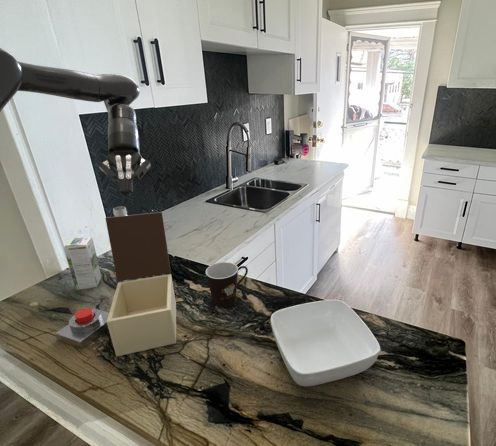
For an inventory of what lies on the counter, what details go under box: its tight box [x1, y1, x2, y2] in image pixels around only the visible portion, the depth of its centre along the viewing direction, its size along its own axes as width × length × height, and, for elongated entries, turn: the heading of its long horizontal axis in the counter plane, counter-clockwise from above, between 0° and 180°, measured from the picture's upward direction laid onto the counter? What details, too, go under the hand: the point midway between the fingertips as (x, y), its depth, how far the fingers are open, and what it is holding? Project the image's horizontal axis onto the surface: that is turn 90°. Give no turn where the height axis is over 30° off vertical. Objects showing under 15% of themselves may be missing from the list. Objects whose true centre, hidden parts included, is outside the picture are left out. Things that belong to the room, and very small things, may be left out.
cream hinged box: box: [107, 273, 177, 357], centre depth 77 cm, size 16×13×10 cm
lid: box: [105, 211, 172, 282], centre depth 80 cm, size 16×13×1 cm
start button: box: [74, 307, 94, 324], centre depth 76 cm, size 4×4×2 cm
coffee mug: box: [205, 261, 249, 308], centre depth 88 cm, size 12×9×10 cm
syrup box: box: [63, 236, 103, 291], centre depth 93 cm, size 6×6×14 cm
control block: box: [54, 307, 110, 350], centre depth 77 cm, size 10×8×4 cm
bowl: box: [270, 299, 381, 387], centre depth 70 cm, size 20×20×8 cm
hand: (126, 193), depth 81 cm, fingers closed
